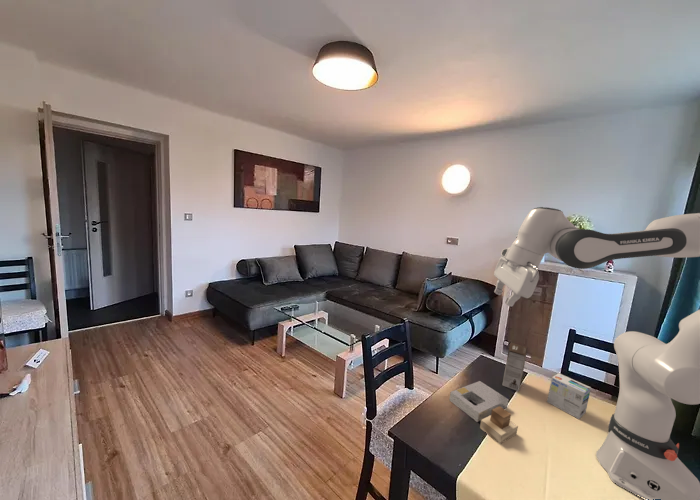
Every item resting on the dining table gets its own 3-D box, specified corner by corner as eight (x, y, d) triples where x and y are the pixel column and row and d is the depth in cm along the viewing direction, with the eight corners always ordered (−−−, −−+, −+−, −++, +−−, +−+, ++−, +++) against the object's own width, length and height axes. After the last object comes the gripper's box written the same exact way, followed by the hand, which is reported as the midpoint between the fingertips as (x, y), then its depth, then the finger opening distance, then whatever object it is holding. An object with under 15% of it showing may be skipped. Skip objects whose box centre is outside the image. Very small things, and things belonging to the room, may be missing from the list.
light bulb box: (585, 413, 107) (592, 387, 105) (579, 420, 103) (585, 392, 101) (553, 396, 115) (558, 371, 114) (545, 402, 112) (551, 376, 110)
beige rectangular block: (516, 434, 94) (518, 426, 93) (499, 443, 89) (501, 435, 89) (496, 419, 100) (497, 411, 99) (479, 427, 95) (481, 419, 95)
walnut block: (509, 425, 93) (511, 414, 93) (501, 429, 91) (503, 417, 91) (497, 416, 97) (499, 406, 96) (490, 420, 95) (492, 409, 94)
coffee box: (504, 375, 128) (510, 341, 125) (520, 381, 124) (527, 346, 122) (501, 385, 120) (508, 349, 117) (519, 392, 116) (526, 355, 114)
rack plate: (507, 408, 106) (508, 399, 106) (477, 422, 98) (479, 412, 97) (478, 388, 116) (479, 380, 116) (449, 400, 108) (450, 391, 107)
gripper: (552, 271, 76) (527, 317, 80) (518, 255, 96) (500, 291, 99) (528, 263, 77) (505, 308, 80) (500, 248, 97) (482, 285, 100)
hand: (502, 299), depth 90 cm, fingers open, 8 cm apart
